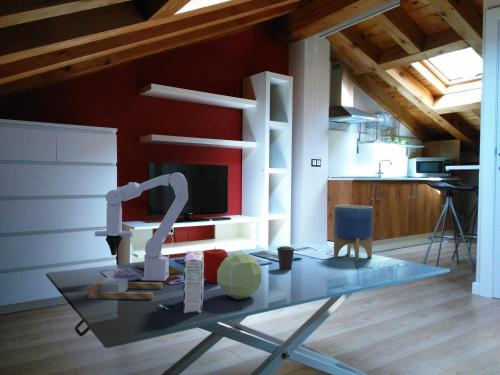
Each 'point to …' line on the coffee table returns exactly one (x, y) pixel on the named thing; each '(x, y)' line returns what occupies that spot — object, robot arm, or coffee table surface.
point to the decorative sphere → (239, 275)
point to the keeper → (114, 285)
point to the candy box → (193, 281)
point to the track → (96, 293)
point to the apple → (213, 263)
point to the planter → (353, 228)
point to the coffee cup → (285, 257)
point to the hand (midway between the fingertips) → (114, 254)
